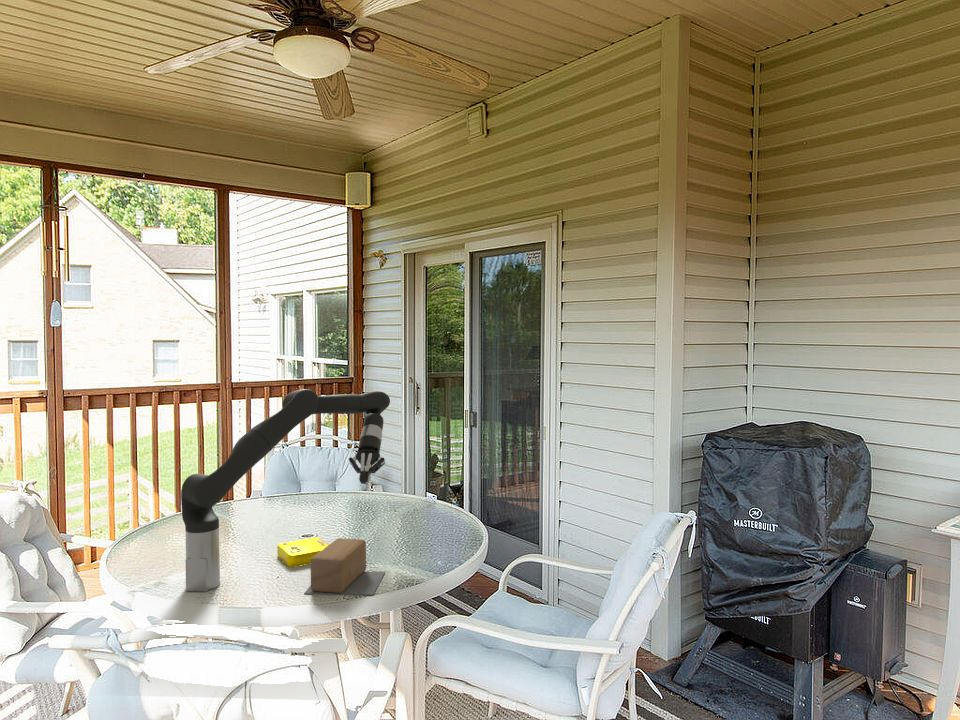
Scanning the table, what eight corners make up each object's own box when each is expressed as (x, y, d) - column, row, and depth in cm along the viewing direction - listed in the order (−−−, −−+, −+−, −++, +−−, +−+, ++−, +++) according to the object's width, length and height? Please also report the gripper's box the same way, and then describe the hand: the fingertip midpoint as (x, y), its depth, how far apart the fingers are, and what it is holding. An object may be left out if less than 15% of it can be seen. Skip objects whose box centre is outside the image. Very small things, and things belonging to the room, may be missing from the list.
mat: (373, 595, 189) (373, 594, 189) (304, 594, 190) (304, 593, 190) (384, 572, 207) (384, 571, 207) (322, 571, 208) (322, 570, 208)
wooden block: (367, 570, 208) (342, 594, 189) (337, 568, 210) (309, 592, 191) (366, 538, 208) (341, 560, 188) (337, 537, 210) (309, 557, 190)
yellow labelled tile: (334, 560, 219) (333, 546, 219) (289, 569, 211) (289, 554, 211) (318, 548, 232) (318, 535, 232) (275, 556, 224) (275, 542, 224)
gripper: (350, 434, 231) (341, 476, 219) (387, 434, 230) (381, 476, 218) (353, 446, 236) (345, 488, 224) (390, 446, 235) (384, 488, 224)
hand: (363, 482), depth 221 cm, fingers closed
